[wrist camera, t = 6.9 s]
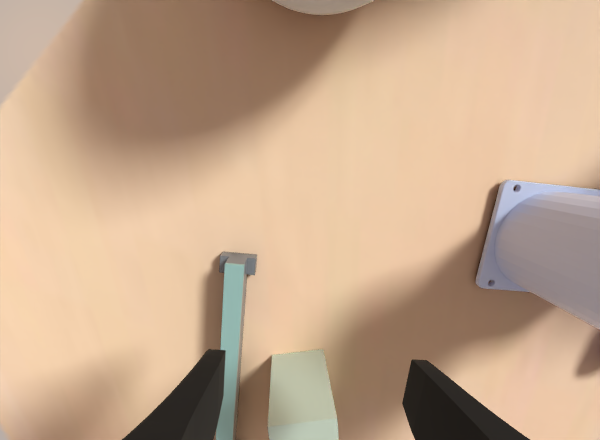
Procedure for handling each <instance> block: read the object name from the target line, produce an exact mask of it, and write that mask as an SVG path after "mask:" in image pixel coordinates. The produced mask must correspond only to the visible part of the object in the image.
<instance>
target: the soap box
mask: <svg viewBox="0 0 600 440" xmlns="http://www.w3.org/2000/svg"><path fill="white" fill-rule="evenodd" d="M268 434H269V440H339V436H338V422H337V415H336V410H335V405H334V400H333V395H332V390H331V385H330V380H329V375H328V370H327V365H326V360H325V355H324V350H323V349H320V350H311V351H302V352H293V353H285V354H276V355H272V363H271V379H270V395H269V411H268Z"/></svg>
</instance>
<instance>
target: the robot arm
mask: <svg viewBox="0 0 600 440" xmlns="http://www.w3.org/2000/svg"><path fill="white" fill-rule="evenodd" d="M515 185H516V189H515V190H513V188H514V186H515ZM490 280H491V282H490V283H489V284H488V282H489V281H490ZM476 285H478V286H479V287H480V288H485V289H498V290H511V291H524V292H531V293H533V294H535V295H537V296H539V297H541V298H542V299H544V300H546V301H548V302H550V303H552V304H553V305H555V306H557V307H559V308H561V309H563V310H564V311H566V312H568V313H570V314H572V315H574V316H575V317H577V318H579V319H581V320H583V321H584V322H586V323H588V324H590V325H592V326H594V327H595V328H597V329H599V330H600V190H597V189H588V188H578V187H569V186H560V185H551V184H542V183H532V182H523V181H514V180H505V181H503V182H502V183H501V184H500V187H499V191H498V194H497V198H496V202H495V206H494V210H493V214H492V218H491V222H490V226H489V230H488V233H487V237H486V241H485V245H484V249H483V253H482V257H481V261H480V265H479V269H478V273H477V276H476ZM225 355H226V350H211V349H209V350H208V351H207V352H206V353H205V354H204V355H203V357H202V358H201V359H200V360H199V362H198V363H197V364H196V365H195V366H194V368H193V369H192V370H191V371H190V372H189V373H188V375H187V376H186V377H185V378H184V379H183V380H182V381H181V383H180V384H179V385H178V386H177V387H176V388H175V389H174V390H173V391H172V392H171V394H170V395H169V396H168V397H167V398H166V399H165V400H164V401H163V402H162V403H161V404H160V405H159V406H158V407H157V408H156V409H155V410H154V411H153V412H152V413H151V414H150V415H149V416H148V417H147V418H146V419H145V420H143V421H142V422H141V423H140V424H139V425H138V426H137V427H136V428H135V429H134V430H133V431H131V432H130V433H129V434H128V435H127V436H126V437H125V438H123V439H122V440H213V438H214V435H215V432H216V429H217V425H218V420H219V415H220V411H221V406H222V401H223V396H224V375H225ZM402 404H403V407H404V410H405V413H406V416H407V419H408V422H409V425H410V428H411V431H412V433H413V436H414V438H415V440H530V439H528V438H527V437H525V436H524V435H522V434H521V433H520V432H518V431H517V430H515V429H514V428H513V427H511V426H510V425H509V424H507V423H506V422H505V421H503V420H502V419H501V418H499V417H498V416H496V415H495V414H494V413H493V412H491V411H490V410H489V409H487V408H486V407H485V406H483V405H482V404H481V403H480V402H478V401H477V400H476V399H475V398H473V397H472V396H471V395H470V394H468V393H467V392H466V391H465V390H463V389H462V388H461V387H460V386H458V385H457V384H456V383H455V382H454V381H452V380H451V379H450V378H449V377H447V376H446V375H445V374H444V373H442V372H441V371H440V370H439V369H437V368H436V367H435V366H434V365H432V364H431V363H430V362H428V361H427V360H411V365H410V370H409V375H408V379H407V384H406V389H405V394H404V398H403V403H402Z"/></svg>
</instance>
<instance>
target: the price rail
mask: <svg viewBox="0 0 600 440" xmlns="http://www.w3.org/2000/svg"><path fill="white" fill-rule="evenodd" d="M256 262H257V255H256V254H244V253H231V252H222V254H221V255H220V269H219V272H222V273H224V290H223V310H222V329H221V348H220V350H226V355H225V375H224V396H223V401H222V406H221V411H220V415H219V420H218V425H217V429H216V440H236V426H237V412H238V397H239V383H240V369H241V355H242V340H243V326H244V312H245V297H246V283H247V274H248V275H255V272H256Z"/></svg>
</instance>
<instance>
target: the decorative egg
mask: <svg viewBox="0 0 600 440" xmlns="http://www.w3.org/2000/svg"><path fill="white" fill-rule="evenodd" d="M272 1H274V2H276V3H277V4H279V5H281V6H283V7H286V8H288V9H290V10H294V11H297V12H301V13H306V14H314V15H332V14H339V13H344V12H347V11H351V10H354V9H356V8H359V7H361V6H363V5H366V4H368V3H370V2H372V1H374V0H272Z"/></svg>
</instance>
